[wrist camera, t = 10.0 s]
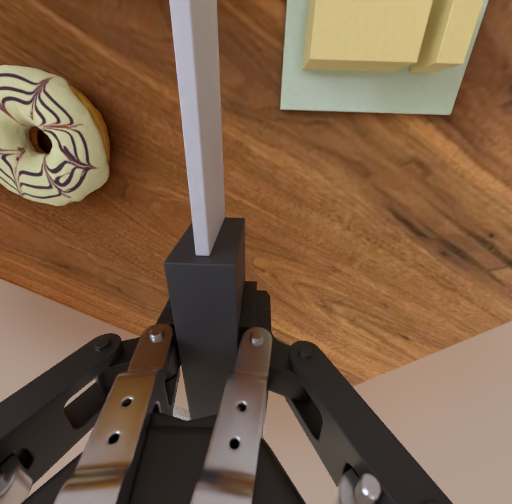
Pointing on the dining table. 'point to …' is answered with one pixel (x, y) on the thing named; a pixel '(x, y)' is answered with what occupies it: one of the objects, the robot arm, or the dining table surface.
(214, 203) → the knife
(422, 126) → the dining table surface
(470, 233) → the dining table surface
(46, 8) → the dining table surface
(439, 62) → the butter slice
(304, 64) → the butter block
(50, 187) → the decorated donut
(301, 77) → the butter board
